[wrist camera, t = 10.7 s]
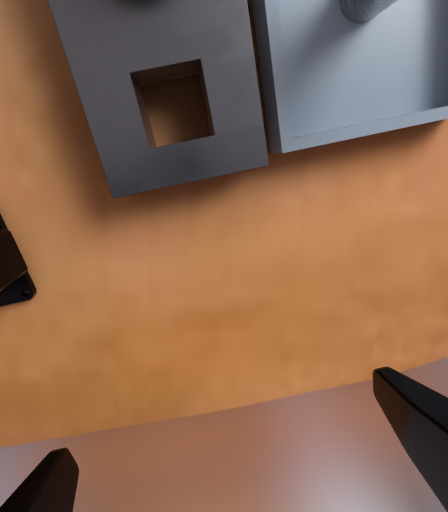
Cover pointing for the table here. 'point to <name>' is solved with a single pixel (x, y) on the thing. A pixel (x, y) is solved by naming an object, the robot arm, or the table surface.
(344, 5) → the lock pin
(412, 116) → the tray
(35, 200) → the table surface
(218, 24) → the grey holder base
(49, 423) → the table surface
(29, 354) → the table surface
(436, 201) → the table surface
